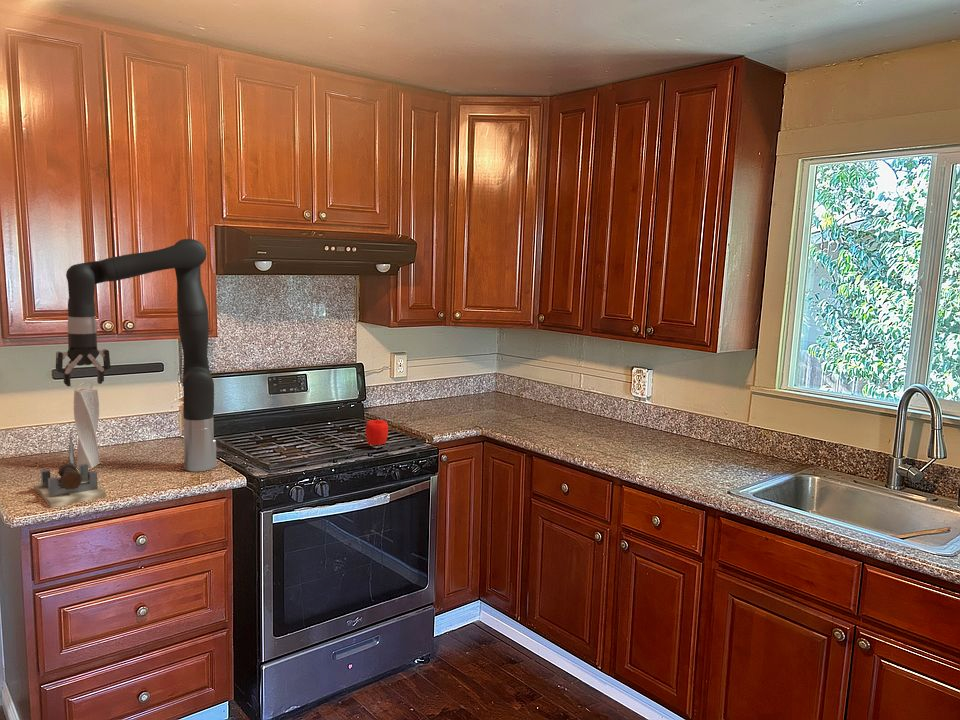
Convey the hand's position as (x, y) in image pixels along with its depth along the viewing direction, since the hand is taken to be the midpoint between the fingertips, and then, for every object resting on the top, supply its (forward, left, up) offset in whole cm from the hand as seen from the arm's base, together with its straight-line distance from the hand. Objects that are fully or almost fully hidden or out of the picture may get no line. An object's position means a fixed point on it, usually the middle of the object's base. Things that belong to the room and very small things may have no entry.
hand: (84, 384), depth 212 cm
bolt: (+7, +9, -27) cm, 29 cm away
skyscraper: (-4, -16, -31) cm, 35 cm away
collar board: (+7, +9, -30) cm, 32 cm away
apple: (-95, +18, -30) cm, 101 cm away
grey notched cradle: (+7, +9, -29) cm, 31 cm away
